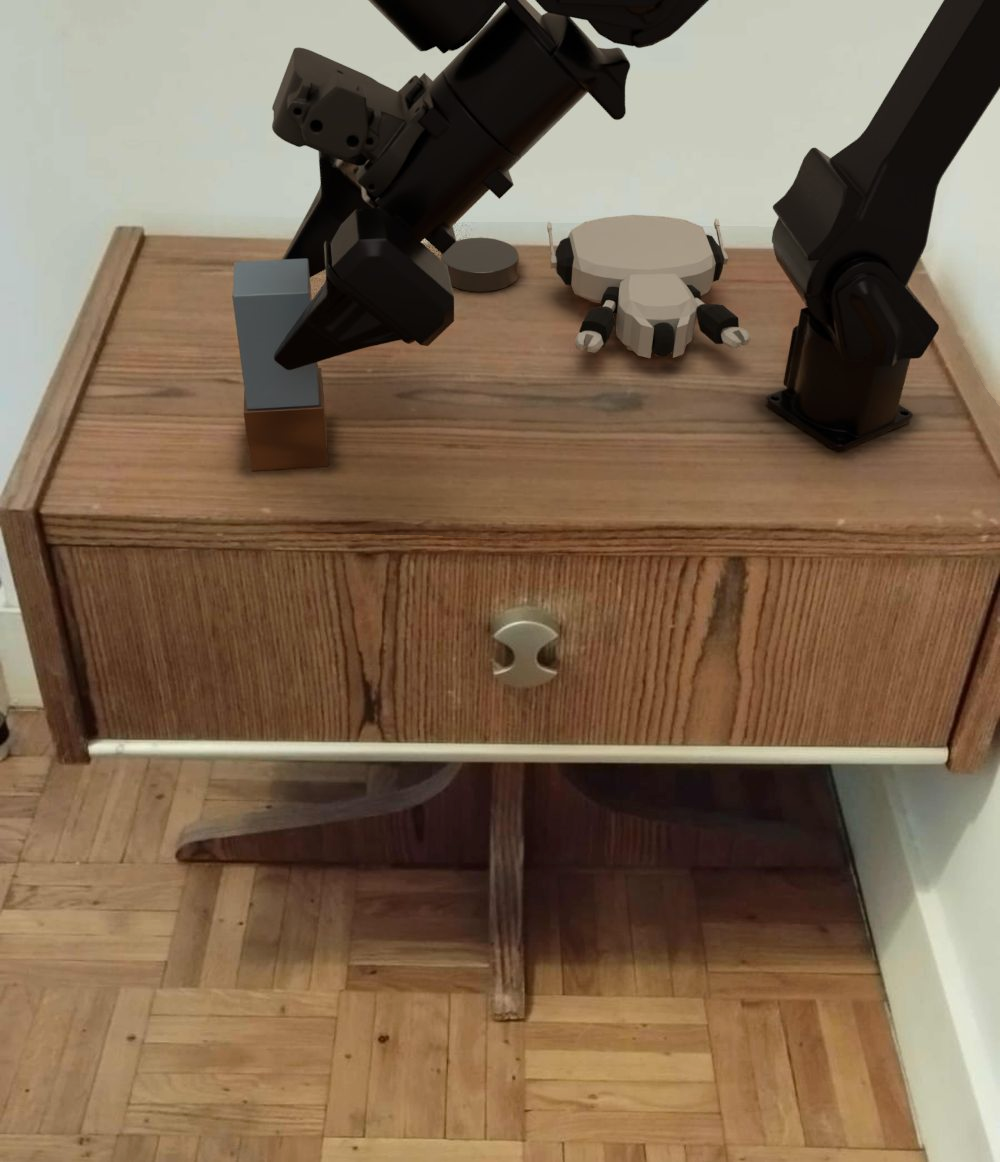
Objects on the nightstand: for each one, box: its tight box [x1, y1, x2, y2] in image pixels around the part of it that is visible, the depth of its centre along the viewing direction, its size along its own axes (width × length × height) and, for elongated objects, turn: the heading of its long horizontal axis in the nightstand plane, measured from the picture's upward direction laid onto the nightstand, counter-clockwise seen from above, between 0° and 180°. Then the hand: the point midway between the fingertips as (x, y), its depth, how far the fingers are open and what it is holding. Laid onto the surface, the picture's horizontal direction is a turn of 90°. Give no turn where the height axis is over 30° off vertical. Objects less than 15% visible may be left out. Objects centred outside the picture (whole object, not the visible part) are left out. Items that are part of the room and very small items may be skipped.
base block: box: [243, 367, 329, 472], centre depth 75 cm, size 4×4×4 cm
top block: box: [231, 259, 319, 409], centre depth 71 cm, size 4×4×7 cm
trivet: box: [440, 237, 520, 293], centre depth 93 cm, size 6×6×2 cm
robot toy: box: [546, 214, 751, 359], centre depth 87 cm, size 12×4×15 cm
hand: (280, 320), depth 71 cm, fingers open, 9 cm apart
